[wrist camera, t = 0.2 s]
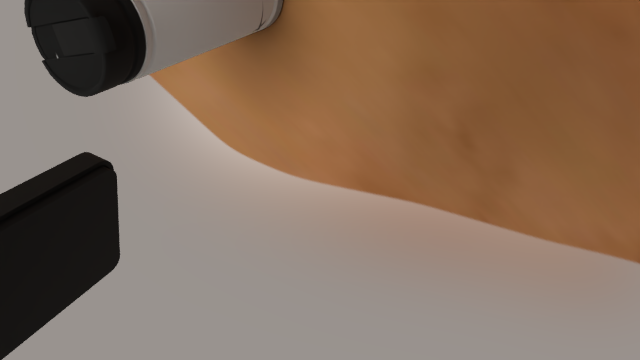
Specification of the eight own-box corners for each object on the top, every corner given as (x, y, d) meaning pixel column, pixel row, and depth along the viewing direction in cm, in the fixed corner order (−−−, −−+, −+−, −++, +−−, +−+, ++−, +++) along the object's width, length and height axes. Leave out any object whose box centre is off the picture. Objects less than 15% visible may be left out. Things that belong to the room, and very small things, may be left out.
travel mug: (294, 25, 41) (124, 97, 25) (230, 33, 44) (39, 104, 27) (279, -57, 38) (77, -35, 22) (211, -42, 41) (-11, -13, 25)
